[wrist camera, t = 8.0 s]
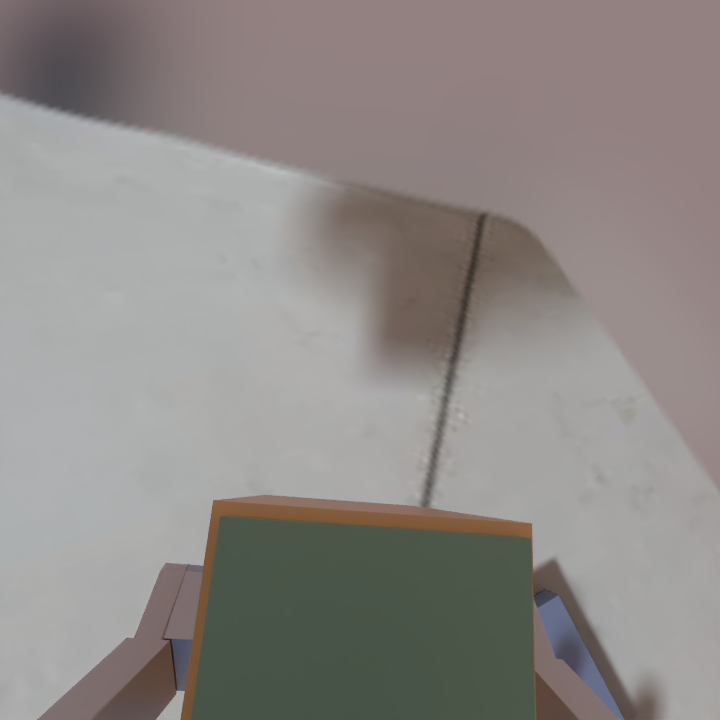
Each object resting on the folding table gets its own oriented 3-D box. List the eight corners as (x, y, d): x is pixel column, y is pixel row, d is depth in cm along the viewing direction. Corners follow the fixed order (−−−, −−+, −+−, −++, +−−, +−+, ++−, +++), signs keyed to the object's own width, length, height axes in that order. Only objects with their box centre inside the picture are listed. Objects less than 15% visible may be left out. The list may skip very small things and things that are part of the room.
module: (407, 673, 15) (555, 952, 6) (245, 665, 15) (138, 951, 6) (413, 506, 16) (543, 525, 7) (265, 495, 16) (208, 500, 7)
